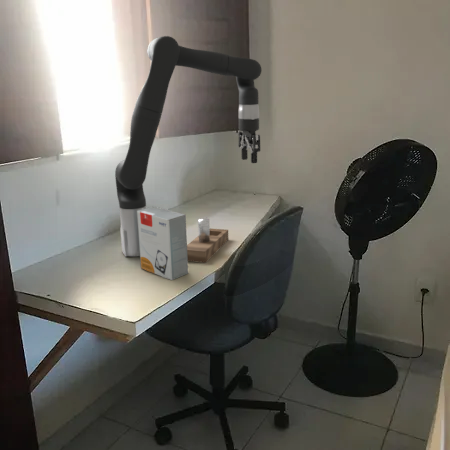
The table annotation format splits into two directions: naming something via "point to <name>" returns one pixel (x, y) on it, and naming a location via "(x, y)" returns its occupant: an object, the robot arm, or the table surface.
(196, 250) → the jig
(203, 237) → the brushed metal cylinder
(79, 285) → the table surface
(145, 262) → the hard drive box
